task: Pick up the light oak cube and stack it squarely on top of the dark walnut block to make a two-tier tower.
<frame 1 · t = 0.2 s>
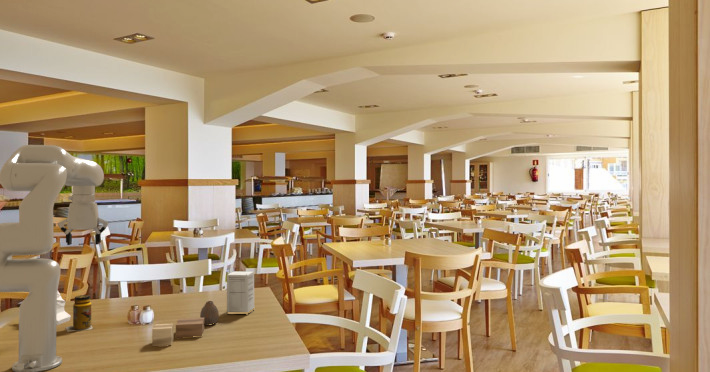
hand: (83, 244, 198), 31 cm above the table, tool pointing down, fingers open, 9 cm apart
vase: (209, 324, 202), on the table
white faceted lump: (49, 322, 203), on the table
supplement box: (240, 312, 221), on the table
oak cube: (163, 343, 177), on the table
condiment: (79, 329, 195), on the table
walnut block: (190, 334, 188), on the table
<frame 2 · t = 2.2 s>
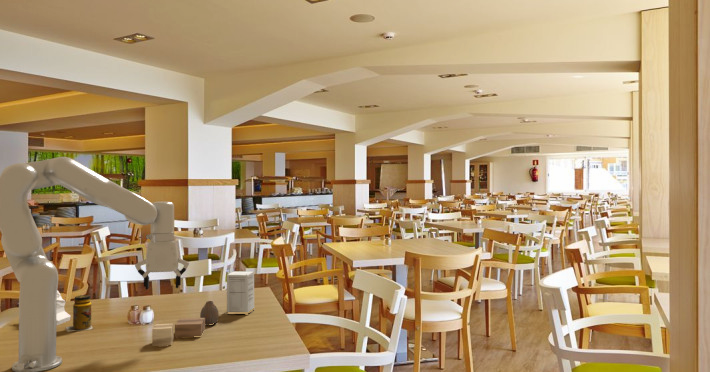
hand: (162, 288, 177), 19 cm above the table, tool pointing down, fingers open, 9 cm apart
nothing on the table moved.
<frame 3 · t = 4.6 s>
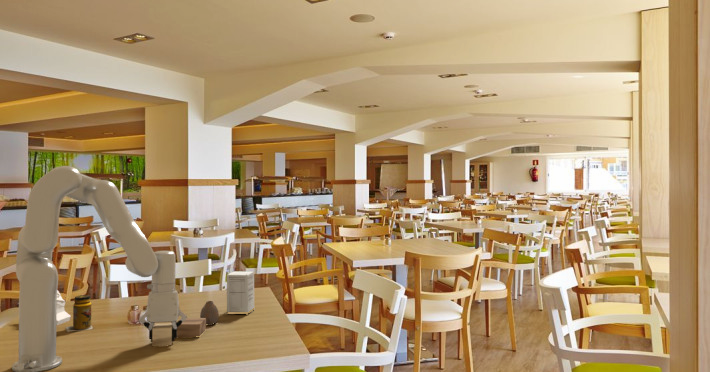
hand: (163, 340, 177), 1 cm above the table, tool pointing down, fingers closed on oak cube, 6 cm apart
oak cube: (163, 343, 177), on the table, touching gripper
everything else where it was.
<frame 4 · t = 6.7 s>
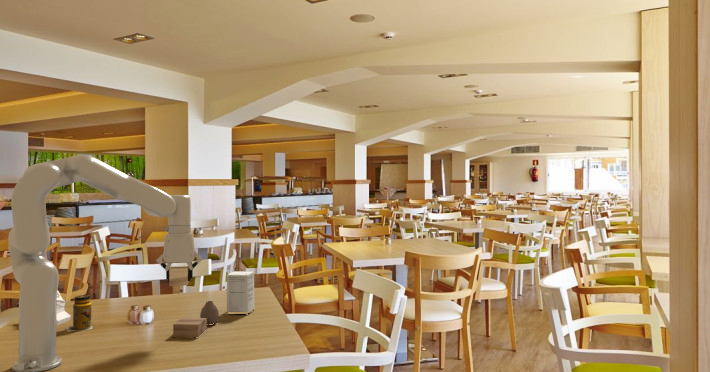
hand: (179, 280, 183), 20 cm above the table, tool pointing down, fingers closed on oak cube, 6 cm apart
oak cube: (179, 284, 183), point 19 cm above the table, touching gripper
everything else where it was.
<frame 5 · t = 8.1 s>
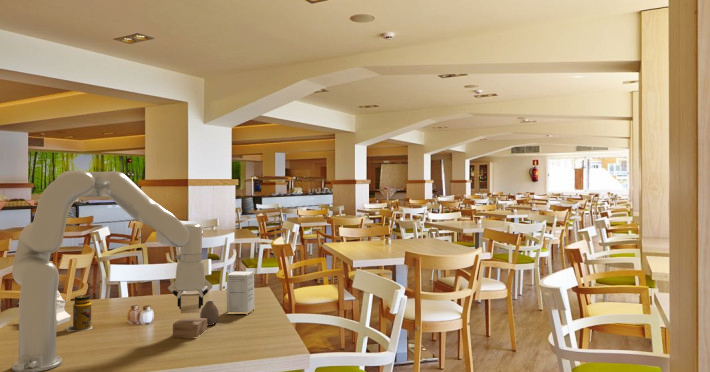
hand: (190, 307, 188), 10 cm above the table, tool pointing down, fingers closed on oak cube, 6 cm apart
oak cube: (190, 310, 188), point 8 cm above the table, touching gripper
everything else where it was.
when the fingers open (7 cm above the table, at t = 9.1 s): oak cube stays where it is, resting on walnut block.
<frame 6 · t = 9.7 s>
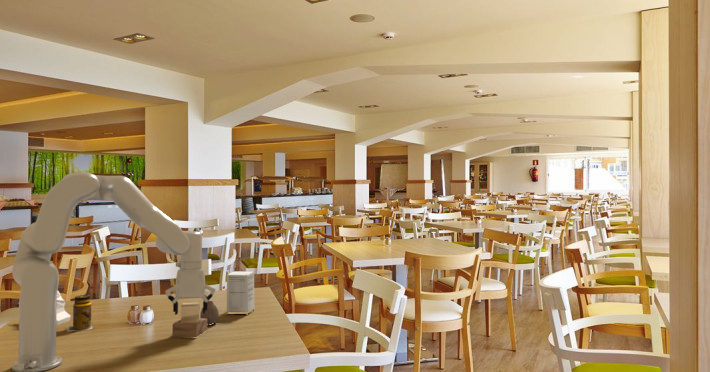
hand: (190, 313, 188), 8 cm above the table, tool pointing down, fingers open, 9 cm apart
oak cube: (190, 321, 188), point 5 cm above the table, touching walnut block
walnut block: (190, 335, 188), on the table, touching oak cube
everything else where it was.
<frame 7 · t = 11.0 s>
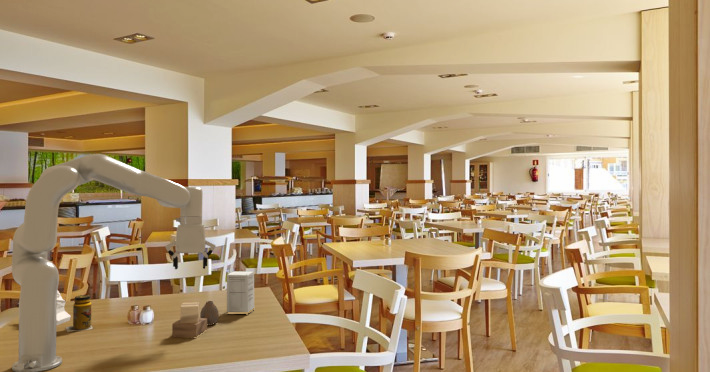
hand: (190, 268, 188), 24 cm above the table, tool pointing down, fingers open, 9 cm apart
nothing on the table moved.
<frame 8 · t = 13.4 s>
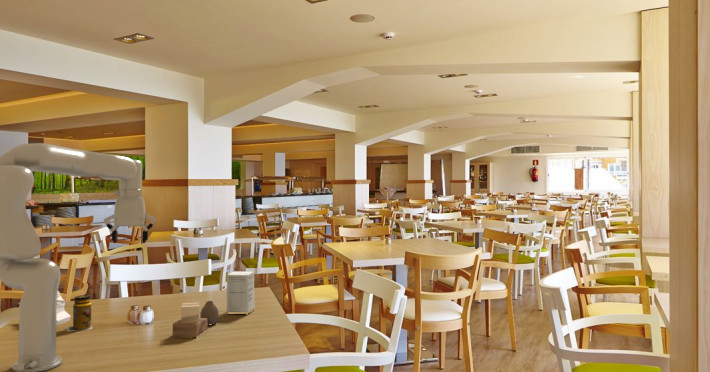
hand: (130, 242, 186), 33 cm above the table, tool pointing down, fingers open, 9 cm apart
nothing on the table moved.
at the end: oak cube 0.5 cm off-centre on the walnut block, point 5.0 cm above the walnut block's base; oak cube tilted 0°; the gripper is holding nothing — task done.
